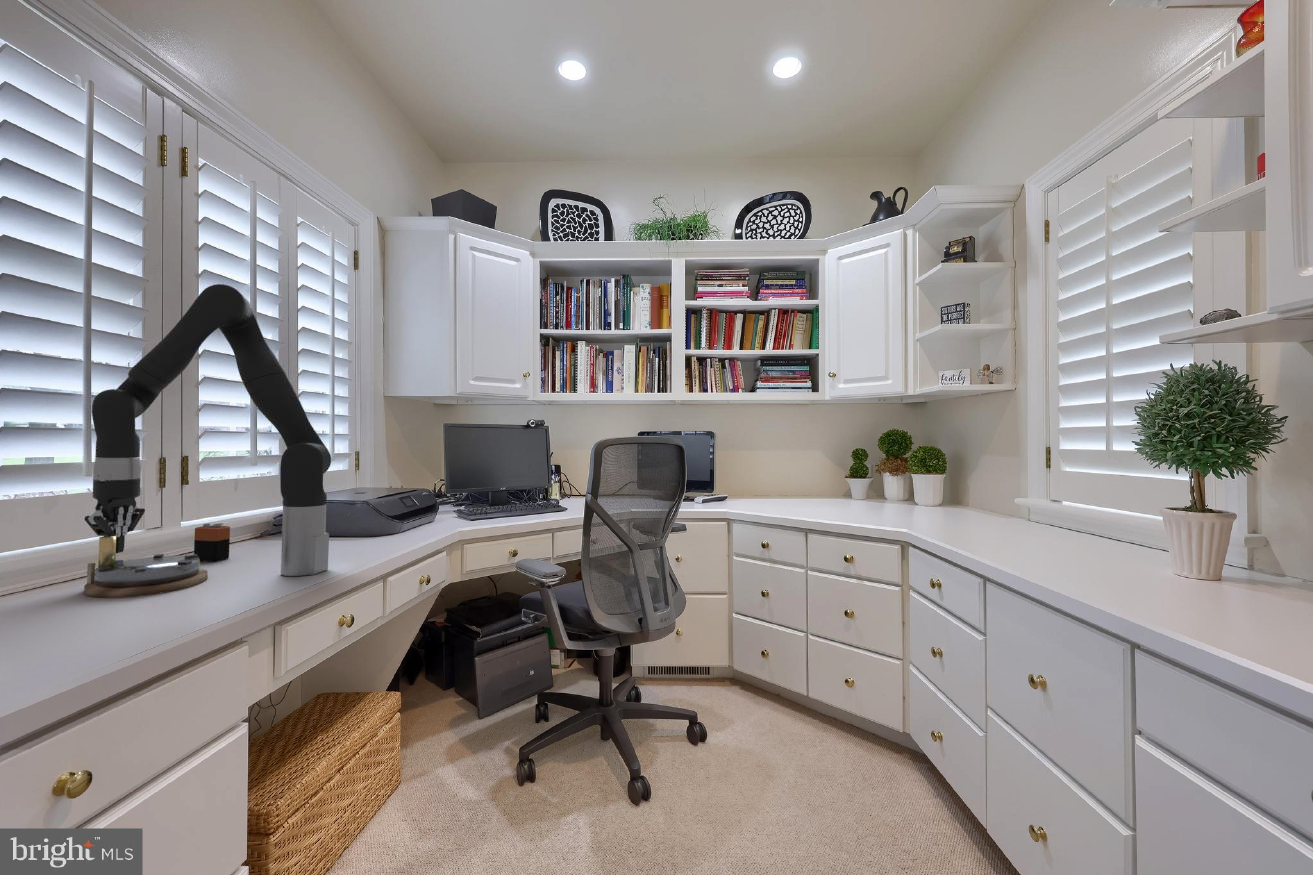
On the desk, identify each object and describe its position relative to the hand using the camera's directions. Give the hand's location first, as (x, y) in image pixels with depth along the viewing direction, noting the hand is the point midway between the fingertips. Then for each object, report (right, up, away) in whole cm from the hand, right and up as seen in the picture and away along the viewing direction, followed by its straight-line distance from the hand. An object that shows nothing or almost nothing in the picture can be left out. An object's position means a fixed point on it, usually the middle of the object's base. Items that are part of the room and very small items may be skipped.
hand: (115, 552), depth 117 cm
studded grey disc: (+8, -6, 0) cm, 10 cm away
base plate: (+8, -7, 0) cm, 11 cm away
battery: (+1, -8, +25) cm, 26 cm away
